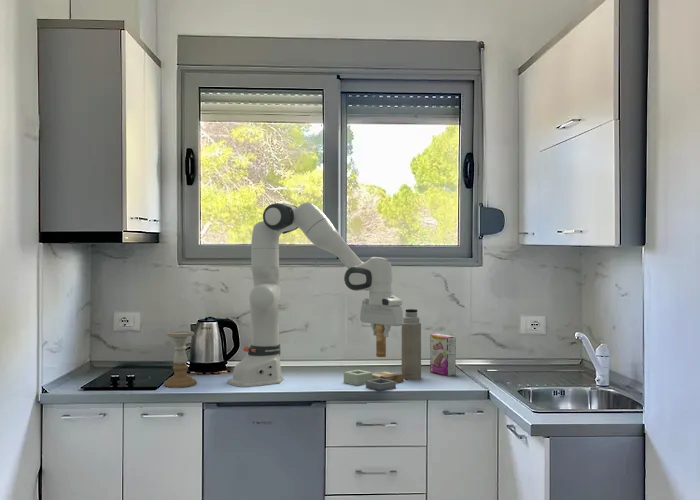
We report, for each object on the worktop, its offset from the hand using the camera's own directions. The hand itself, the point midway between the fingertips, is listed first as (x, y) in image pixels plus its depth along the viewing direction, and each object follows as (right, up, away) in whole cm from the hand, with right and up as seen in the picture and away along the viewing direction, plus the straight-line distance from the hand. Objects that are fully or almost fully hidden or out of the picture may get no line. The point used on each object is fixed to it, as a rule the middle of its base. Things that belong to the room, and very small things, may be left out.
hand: (380, 336), depth 234 cm
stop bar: (+5, -20, +9) cm, 22 cm away
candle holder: (-78, -20, +6) cm, 80 cm away
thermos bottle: (+13, -20, +19) cm, 31 cm away
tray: (0, -20, 0) cm, 20 cm away
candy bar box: (+28, -20, +28) cm, 44 cm away
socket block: (-9, -20, +10) cm, 23 cm away
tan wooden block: (+2, -20, +13) cm, 24 cm away
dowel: (0, -8, 0) cm, 8 cm away
